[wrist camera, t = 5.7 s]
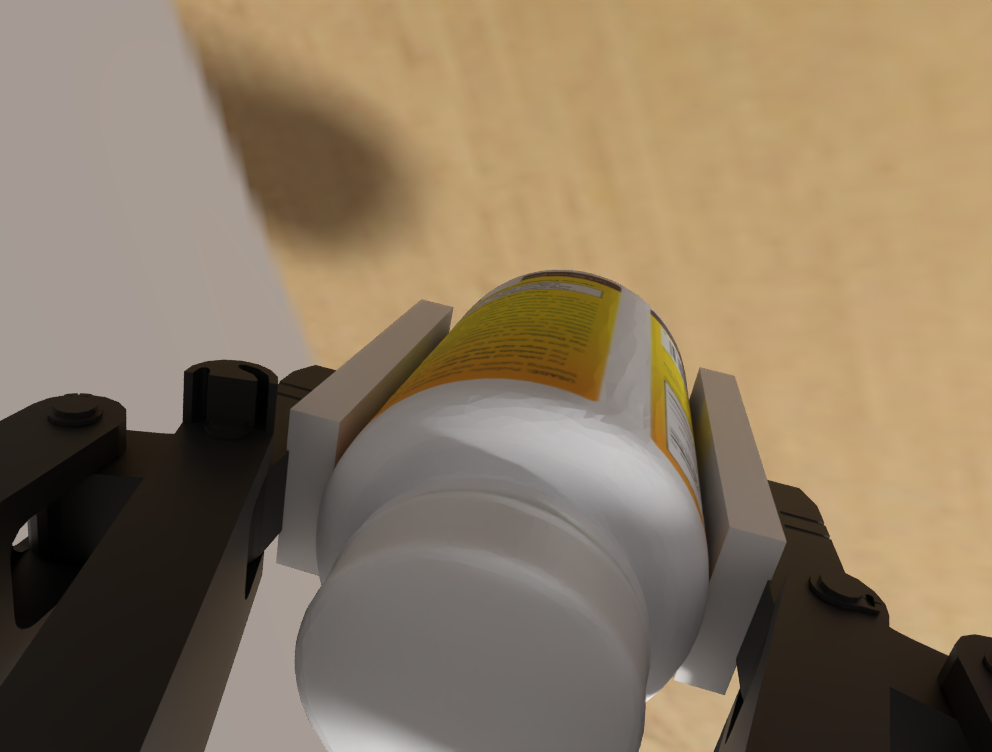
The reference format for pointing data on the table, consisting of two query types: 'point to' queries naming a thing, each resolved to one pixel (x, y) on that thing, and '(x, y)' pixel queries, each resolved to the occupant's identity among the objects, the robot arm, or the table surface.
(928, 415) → the table surface
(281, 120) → the table surface
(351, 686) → the supplement bottle
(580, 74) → the table surface
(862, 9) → the table surface
